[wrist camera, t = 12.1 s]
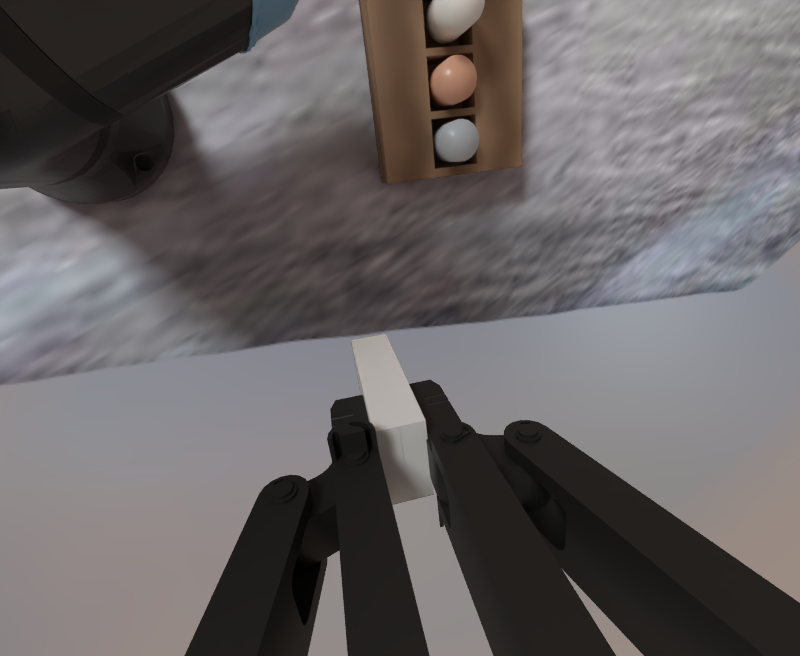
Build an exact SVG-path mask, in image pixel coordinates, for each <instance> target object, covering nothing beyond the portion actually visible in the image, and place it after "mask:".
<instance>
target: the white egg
mask: <svg viewBox="0 0 800 656" xmlns="http://www.w3.org/2000/svg"><path fill="white" fill-rule="evenodd" d="M484 5H485V0H432V1H431V3H430V4H429V6H428V8H427V11H426V16H425V22H426V28H427V31H428V33H429V34H430V36H431V37H432V38H433V39H434V40H435V41H436V42H438V43H441V44H449V43H452V42H454V41H455V40H456V39H457V38H458V37H459V36H461V35H462V34H463V33H464V32H465V31H466V30H467V29H468V28H469V27H471V26H472V25H473V24H474V23H475V22H476V21H477V20H478V19H479V18H480V16H481V14H482V12H483V9H484Z"/></svg>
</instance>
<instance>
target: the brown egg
mask: <svg viewBox="0 0 800 656" xmlns="http://www.w3.org/2000/svg"><path fill="white" fill-rule="evenodd" d="M476 83H477V73H476V69H475V66H474V64H473V63H472V62H471V60H470V59H469V58H467V57H465V56H463V55H453V56H450V57H449V58H447V59H446V60H445V61H443V62H442V63H441V64H440V65H439V66H437V67H436V68H435V69H434V70H432V71H431V72H430V73H429V75H428V84H429V97H430V105H432V106H433V107H435V108H437V109H446V108H448V107H451V106H453V105H455V104H457V103H459V102H461V101H464V100H466V99H467V98H468V97H470V96H471V94H472V93H473V91H474V89H475V87H476Z"/></svg>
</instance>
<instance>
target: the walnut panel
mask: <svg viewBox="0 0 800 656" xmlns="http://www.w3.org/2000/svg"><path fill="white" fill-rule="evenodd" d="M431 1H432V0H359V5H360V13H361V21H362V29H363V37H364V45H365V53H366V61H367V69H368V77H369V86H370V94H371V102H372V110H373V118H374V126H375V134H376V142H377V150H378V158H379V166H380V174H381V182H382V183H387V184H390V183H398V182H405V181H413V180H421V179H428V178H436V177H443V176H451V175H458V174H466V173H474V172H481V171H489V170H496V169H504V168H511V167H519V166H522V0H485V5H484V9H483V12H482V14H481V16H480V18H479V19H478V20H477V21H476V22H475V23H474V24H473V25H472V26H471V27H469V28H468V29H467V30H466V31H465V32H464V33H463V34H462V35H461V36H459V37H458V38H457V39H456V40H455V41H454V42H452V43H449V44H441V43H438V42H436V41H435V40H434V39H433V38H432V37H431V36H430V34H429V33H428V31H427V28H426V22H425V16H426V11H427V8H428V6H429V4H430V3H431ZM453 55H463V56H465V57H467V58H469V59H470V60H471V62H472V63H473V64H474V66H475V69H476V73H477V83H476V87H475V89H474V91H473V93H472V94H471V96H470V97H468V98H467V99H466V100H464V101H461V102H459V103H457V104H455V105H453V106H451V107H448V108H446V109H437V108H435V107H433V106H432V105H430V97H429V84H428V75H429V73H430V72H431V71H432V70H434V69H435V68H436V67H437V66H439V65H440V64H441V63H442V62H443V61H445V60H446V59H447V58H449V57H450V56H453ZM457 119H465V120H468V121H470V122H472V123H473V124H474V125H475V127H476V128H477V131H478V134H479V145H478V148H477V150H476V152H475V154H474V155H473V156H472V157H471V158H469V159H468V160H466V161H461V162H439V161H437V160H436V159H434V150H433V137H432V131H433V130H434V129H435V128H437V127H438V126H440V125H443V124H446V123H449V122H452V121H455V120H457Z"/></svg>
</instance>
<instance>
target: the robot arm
mask: <svg viewBox="0 0 800 656" xmlns="http://www.w3.org/2000/svg"><path fill="white" fill-rule="evenodd" d="M297 3H298V0H0V189H7V188H21V187H29V188H32V189H33V190H35V191H38V192H40V193H42V194H45V195H47V196H50V197H53V198H56V199H60V200H64V201H69V202H74V203H83V204H99V203H108V202H114V201H120V200H124V199H127V198H130V197H132V196H135V195H137V194H139V193H141V192H142V191H144V190H145V189H147V188H148V187H149V186H151V185H152V184H153V183H154V182H155V181H156V180H157V178H158V177H159V176H160V175H161V173H162V172H163V170H164V169H165V167H166V165H167V163H168V160H169V158H170V154H171V151H172V146H173V138H174V126H173V117H172V112H171V108H170V104H169V101H168V98H167V95H166V94H167V93H168V92H170V91H172V90H174V89H175V88H177V87H179V86H181V85H182V84H184V83H186V82H188V81H189V80H191V79H193V78H195V77H196V76H198V75H200V74H202V73H203V72H205V71H207V70H209V69H210V68H212V67H214V66H216V65H217V64H219V63H221V62H223V61H224V60H226V59H228V58H230V57H231V56H233V55H235V54H237V53H238V52H239V53H246V52H249V51H250V50H251V48H252V47H254V46H255V44H256V42H257V41H258V40H259V39H261V38H262V37H264V36H265V35H267V34H268V33H270V32H272V31H273V30H275V29H276V28H278V27H279V26H281V25H282V24H284V23H285V22H286V21H287V20H288V19H289V18H290V17H291V15H292V14H293V11H294V10H295V7H296V5H297ZM351 343H352V348H353V354H354V360H355V365H356V371H357V377H358V382H359V388H360V393H361V395H359V396H354V397H350V398H345V399H340V400H336V401H335V402H334V404H333V406H332V408H331V409H330V410H331V422H332V430H331V431H330V432H329V433H328V438H327V440H328V445H329V449H330V454H331V458H332V464H331V465H330V466H329V468H328V469H327V470H326V471H324V472H323V473H322V474H320V475H319V476H317V477H315V478H313V479H311V480H309V481H306V479H305V478H303V477H301V476H298V475H288V476H283V477H280V478H278V479H275V480H273V481H272V482H270V483H269V484H268V485H266V486H265V487H264V488H263V490H262V491H261V492H260V494H259V496H258V498H257V500H256V502H255V504H254V506H253V508H252V511H251V513H250V515H249V517H248V519H247V521H246V524H245V526H244V528H243V531H242V532H241V534H240V537H239V539H238V541H237V543H236V545H235V548H234V550H233V552H232V554H231V556H230V558H229V561H228V563H227V565H226V567H225V569H224V571H223V574H222V576H221V578H220V580H219V582H218V584H217V587H216V589H215V591H214V593H213V595H212V597H211V600H210V602H209V604H208V606H207V608H206V611H205V613H204V615H203V617H202V619H201V621H200V624H199V626H198V628H197V630H196V632H195V634H194V637H193V639H192V641H191V643H190V645H189V647H188V649H187V652H186V654H185V656H307V655H308V651H309V646H310V641H311V636H312V632H313V627H314V623H315V618H316V613H317V608H318V604H319V599H320V595H321V590H322V585H323V581H324V576H325V571H326V567H327V557H329V556H331V555H332V554H334V553H336V552H337V551H339V550H340V562H341V575H342V587H343V600H344V612H345V624H346V638H347V651H348V656H429V652H428V648H427V644H426V640H425V636H424V632H423V628H422V624H421V619H420V615H419V611H418V607H417V603H416V600H415V595H414V591H413V587H412V583H411V579H410V575H409V571H408V568H407V563H406V559H405V555H404V551H403V547H402V543H401V539H400V535H399V531H398V527H397V523H396V519H395V514H394V510H393V506H392V505H394V504H397V503H401V502H405V501H409V500H413V499H417V498H422V497H426V496H430V495H433V486H434V488H435V491H436V493H437V501H438V511H439V521H440V527H443V526H444V525H445V527H446V530H447V532H448V535H449V538H450V541H451V543H452V546H453V549H454V551H455V554H456V557H457V559H458V562H459V565H460V567H461V570H462V573H463V575H464V578H465V581H466V584H467V586H468V589H469V591H470V594H471V597H472V600H473V602H474V605H475V607H476V610H477V613H478V616H479V618H480V621H481V624H482V626H483V629H484V631H485V634H486V637H487V640H488V642H489V645H490V648H491V650H492V653H493V656H616V655H615V653H614V652H613V650H612V649H611V647H610V645H609V644H608V642H607V641H606V639H605V638H604V636H603V634H602V633H601V631H600V629H599V628H598V626H597V625H596V623H595V622H594V620H593V618H592V617H591V615H590V613H589V612H588V610H587V609H586V607H585V606H584V604H583V602H582V601H581V599H580V598H579V596H578V594H577V593H576V591H575V590H574V588H573V586H572V585H571V583H570V582H569V580H568V579H567V577H566V575H565V574H564V572H563V570H564V571H565V572H566V573H567V575H568V576H569V577H570V578H571V579H572V580H573V581H574V582H575V583H576V584H577V585H578V586H579V587H580V588H581V589H582V590H583V591H584V593H585V594H586V595H587V596H588V597H589V598H590V599H591V600H592V601H593V602H594V603H595V604H596V605H597V606H598V607H599V608H600V609H601V611H602V612H603V613H604V614H605V615H606V616H607V617H608V618H609V619H610V620H611V621H612V622H613V623H614V624H615V625H616V626H617V627H618V628H619V630H621V632H622V633H623V634H624V635H625V636H626V637H627V638H628V639H629V640H630V641H631V642H632V643H633V644H634V645H635V647H637V649H638V650H639V651H640V652H641V653H642V654H643V655H644V656H800V603H799V602H797V601H796V600H794V599H793V598H792V597H790V596H789V595H787V594H786V593H785V592H783V591H782V590H780V589H779V588H777V587H776V586H774V585H773V584H772V583H770V582H769V581H767V580H766V579H764V578H763V577H762V576H760V575H759V574H757V573H756V572H754V571H753V570H752V569H750V568H748V567H747V566H745V565H744V564H743V563H741V562H740V561H739V560H737V559H736V558H734V557H733V556H731V555H730V554H729V553H727V552H726V551H724V550H723V549H721V548H720V547H719V546H717V545H716V544H714V543H713V542H711V541H710V540H709V539H707V538H706V537H704V536H703V535H701V534H700V533H698V532H697V531H695V530H694V529H693V528H691V527H690V526H688V525H687V524H686V523H684V522H682V521H681V520H680V519H678V518H677V517H675V516H674V515H673V514H671V513H670V512H668V511H667V510H665V509H664V508H663V507H661V506H660V505H658V504H657V503H655V502H654V501H652V500H651V499H650V498H648V497H647V496H645V495H644V494H642V493H641V492H640V491H638V490H637V489H635V488H634V487H632V486H631V485H630V484H628V483H627V482H625V481H624V480H622V479H621V478H620V477H618V476H617V475H615V474H614V473H612V472H611V471H609V470H608V469H607V468H605V467H604V466H602V465H601V464H599V463H598V462H597V461H595V460H594V459H592V458H591V457H589V456H588V455H587V454H585V453H584V452H582V451H581V450H579V449H578V448H577V447H575V446H574V445H572V444H571V443H569V442H568V441H567V440H565V439H564V438H562V437H561V436H559V435H558V434H556V433H555V432H553V431H552V430H551V429H549V428H548V427H546V426H545V425H542V424H541V423H539V422H535V421H530V420H520V421H516V422H512V423H511V424H509V425H508V426H507V427H506V428H505V430H504V435H482V434H478V433H476V432H475V430H474V429H473V428H472V427H471V426H470V425H468V424H466V423H463V422H461V420H460V419H459V417H458V415H457V413H456V412H455V410H454V408H453V407H452V405H451V404H450V402H449V401H448V398H447V397H446V395H445V394H444V392H443V390H442V388H441V387H440V385H438V384H437V383H435V382H433V381H432V380H426V381H422V382H417V383H412V384H409V383H408V381H407V379H406V377H405V374H404V372H403V370H402V368H401V366H400V364H399V361H398V359H397V357H396V355H395V353H394V351H393V349H392V346H391V344H390V342H389V340H388V338H387V335H386V334H381V335H375V336H370V337H365V338H359V339H354V340H351ZM432 483H433V484H432ZM561 568H562V569H563V570H562V569H561Z"/></svg>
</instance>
